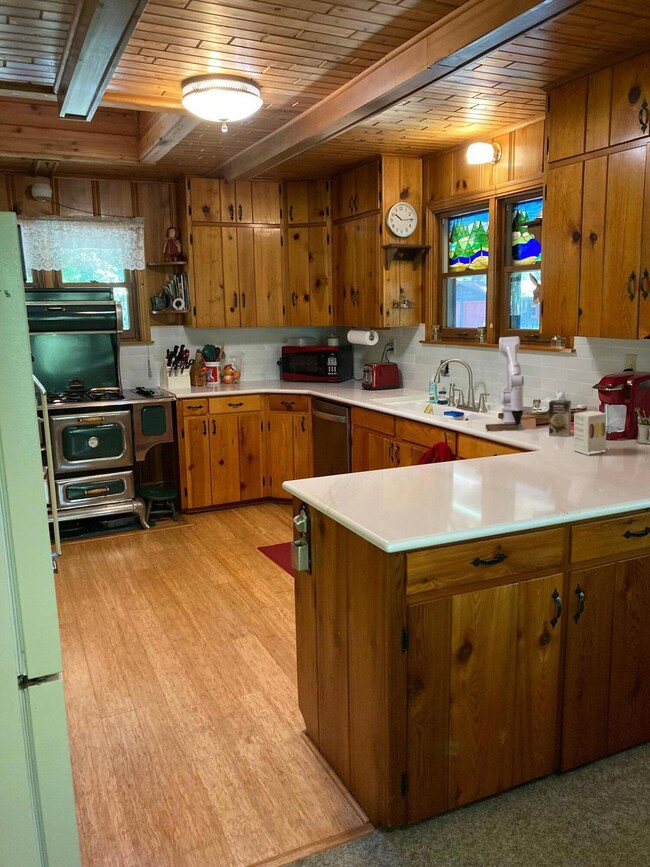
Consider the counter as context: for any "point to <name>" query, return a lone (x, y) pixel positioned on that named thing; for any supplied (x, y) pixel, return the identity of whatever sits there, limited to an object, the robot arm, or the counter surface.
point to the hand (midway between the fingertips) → (517, 425)
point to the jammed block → (528, 423)
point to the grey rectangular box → (559, 418)
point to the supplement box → (590, 431)
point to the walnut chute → (503, 427)
